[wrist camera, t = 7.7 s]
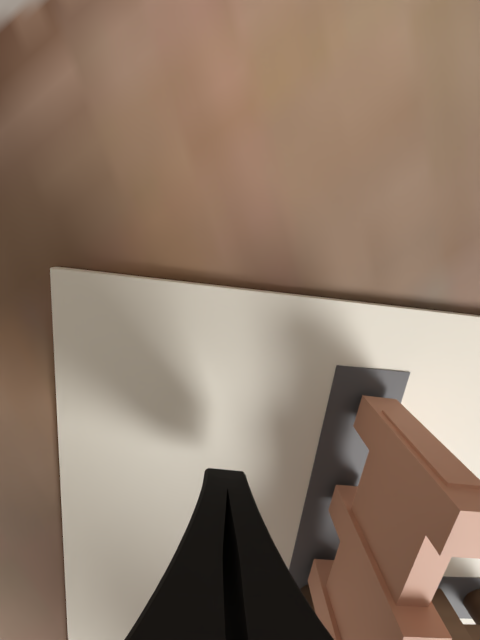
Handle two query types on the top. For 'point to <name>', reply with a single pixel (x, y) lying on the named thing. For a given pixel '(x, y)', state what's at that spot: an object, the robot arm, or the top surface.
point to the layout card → (231, 420)
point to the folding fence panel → (395, 531)
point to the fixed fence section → (445, 613)
